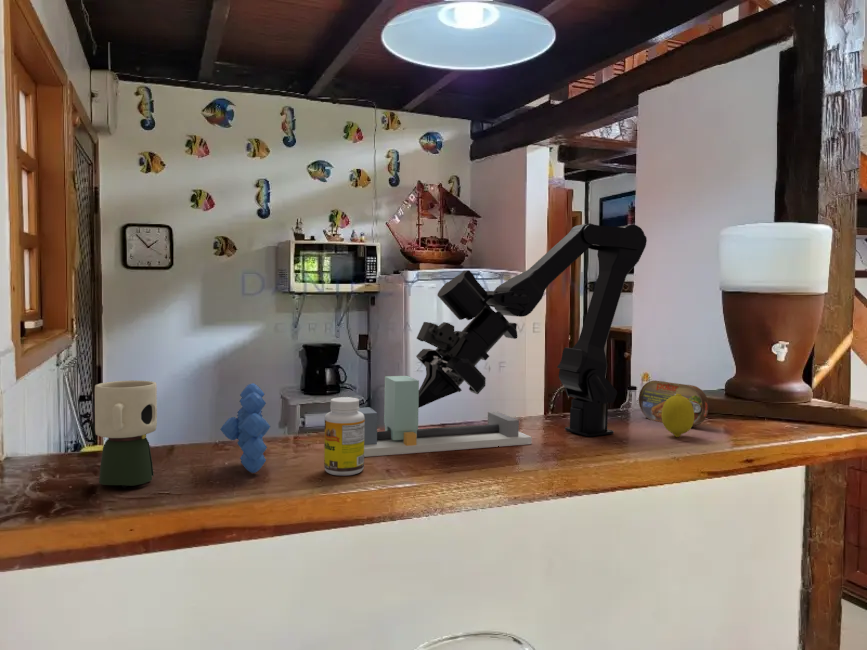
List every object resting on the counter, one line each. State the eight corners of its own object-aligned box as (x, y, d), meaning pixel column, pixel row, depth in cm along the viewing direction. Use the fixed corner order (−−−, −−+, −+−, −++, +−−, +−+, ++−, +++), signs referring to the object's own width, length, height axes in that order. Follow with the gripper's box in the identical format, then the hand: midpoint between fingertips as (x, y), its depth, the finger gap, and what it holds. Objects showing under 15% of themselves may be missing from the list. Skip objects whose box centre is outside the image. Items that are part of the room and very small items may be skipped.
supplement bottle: (320, 467, 88) (320, 397, 88) (357, 464, 90) (358, 395, 90) (329, 478, 83) (330, 403, 83) (369, 474, 85) (369, 401, 85)
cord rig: (504, 431, 114) (505, 398, 114) (531, 444, 105) (532, 407, 104) (344, 442, 104) (345, 405, 103) (358, 457, 94) (359, 417, 94)
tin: (637, 417, 131) (638, 377, 130) (646, 416, 132) (648, 377, 132) (700, 431, 118) (702, 387, 117) (710, 429, 119) (712, 386, 119)
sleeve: (406, 431, 105) (407, 375, 105) (417, 439, 100) (418, 380, 99) (383, 433, 104) (384, 376, 103) (394, 441, 98) (395, 381, 98)
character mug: (149, 496, 75) (148, 389, 74) (84, 500, 73) (82, 391, 72) (163, 470, 85) (163, 377, 85) (106, 473, 83) (105, 378, 83)
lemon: (658, 438, 111) (660, 394, 111) (663, 432, 116) (664, 390, 116) (692, 442, 108) (693, 397, 108) (694, 436, 113) (696, 392, 113)
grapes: (220, 460, 91) (220, 379, 91) (267, 457, 93) (267, 378, 93) (220, 483, 80) (220, 392, 80) (273, 479, 82) (274, 390, 82)
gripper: (427, 304, 112) (368, 366, 109) (469, 307, 95) (399, 380, 91) (466, 346, 115) (409, 408, 112) (513, 357, 98) (447, 429, 95)
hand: (415, 405), depth 102 cm, fingers closed
